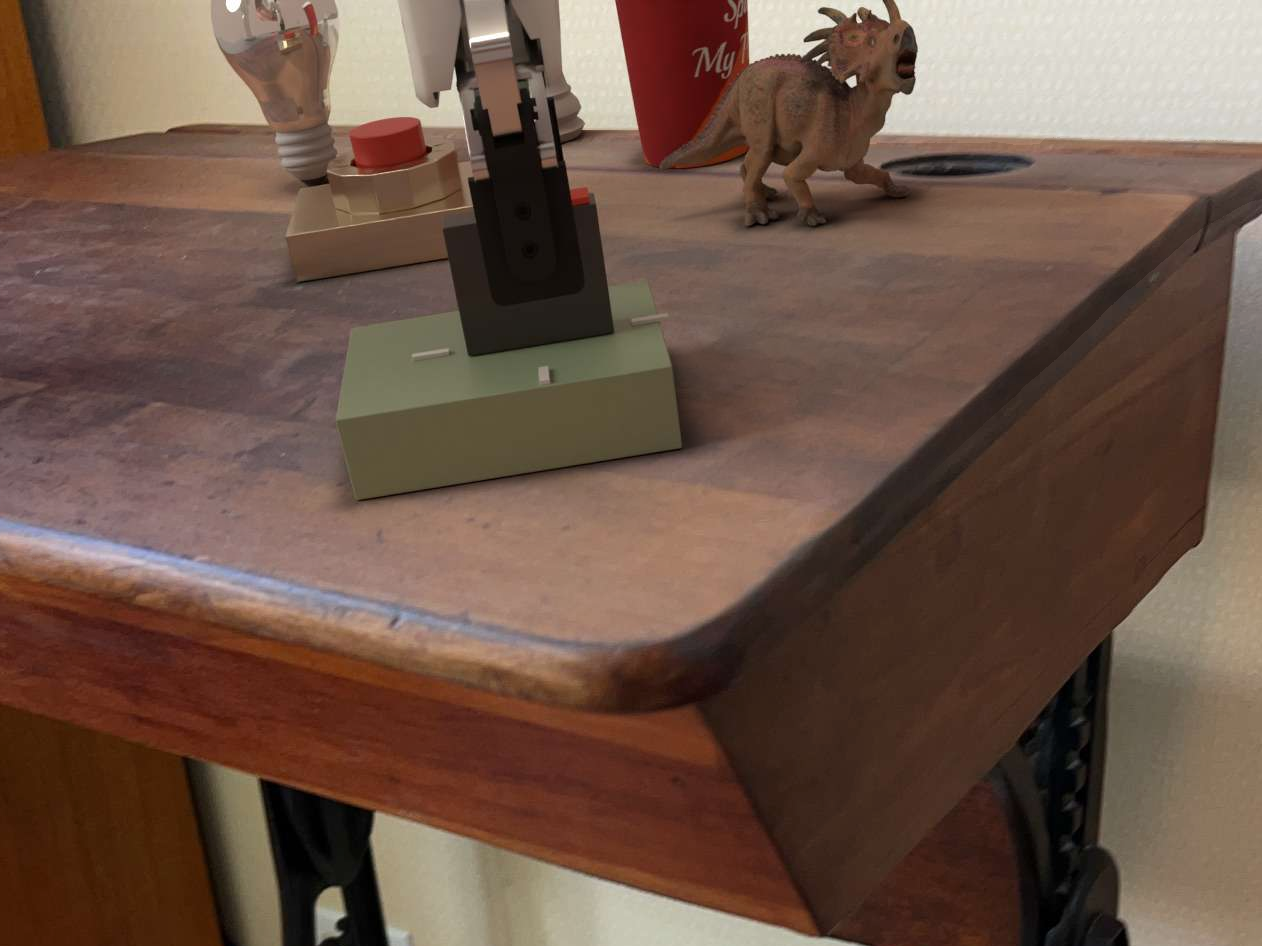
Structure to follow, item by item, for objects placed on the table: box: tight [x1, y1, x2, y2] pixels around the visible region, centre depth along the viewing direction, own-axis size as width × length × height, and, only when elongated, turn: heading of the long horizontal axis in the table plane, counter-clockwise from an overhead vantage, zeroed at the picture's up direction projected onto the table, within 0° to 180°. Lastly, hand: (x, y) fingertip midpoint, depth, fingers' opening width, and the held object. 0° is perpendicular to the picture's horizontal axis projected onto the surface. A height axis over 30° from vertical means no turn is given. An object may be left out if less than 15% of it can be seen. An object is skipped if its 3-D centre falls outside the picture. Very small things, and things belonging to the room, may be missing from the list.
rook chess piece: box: [544, 70, 586, 144], centre depth 95 cm, size 4×4×8 cm
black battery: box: [443, 186, 614, 356], centre depth 60 cm, size 6×2×5 cm, turn 95°
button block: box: [284, 136, 474, 283], centre depth 84 cm, size 11×9×4 cm
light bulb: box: [210, 0, 341, 186], centre depth 93 cm, size 7×7×12 cm
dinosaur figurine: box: [659, 0, 919, 227], centre depth 77 cm, size 14×6×9 cm, turn 63°
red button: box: [348, 116, 427, 168], centre depth 82 cm, size 4×4×2 cm
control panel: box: [335, 280, 683, 501], centre depth 62 cm, size 12×10×3 cm
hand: (535, 256), depth 59 cm, fingers open, 9 cm apart
